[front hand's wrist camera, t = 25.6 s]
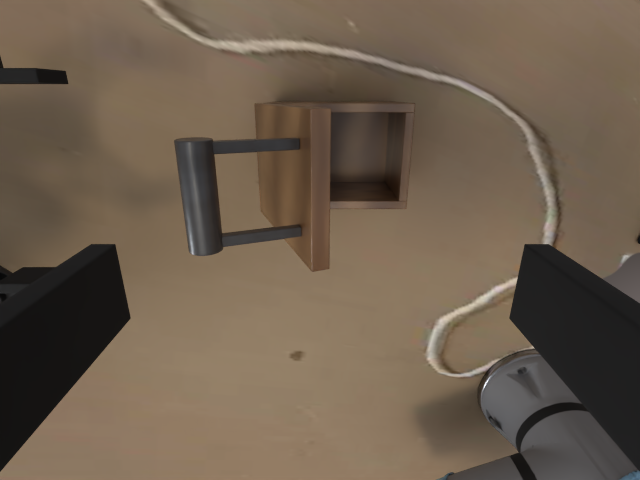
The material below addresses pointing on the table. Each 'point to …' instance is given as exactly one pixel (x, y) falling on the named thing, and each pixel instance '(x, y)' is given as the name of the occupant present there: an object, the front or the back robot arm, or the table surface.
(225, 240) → the lid
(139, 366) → the table surface
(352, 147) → the chest
